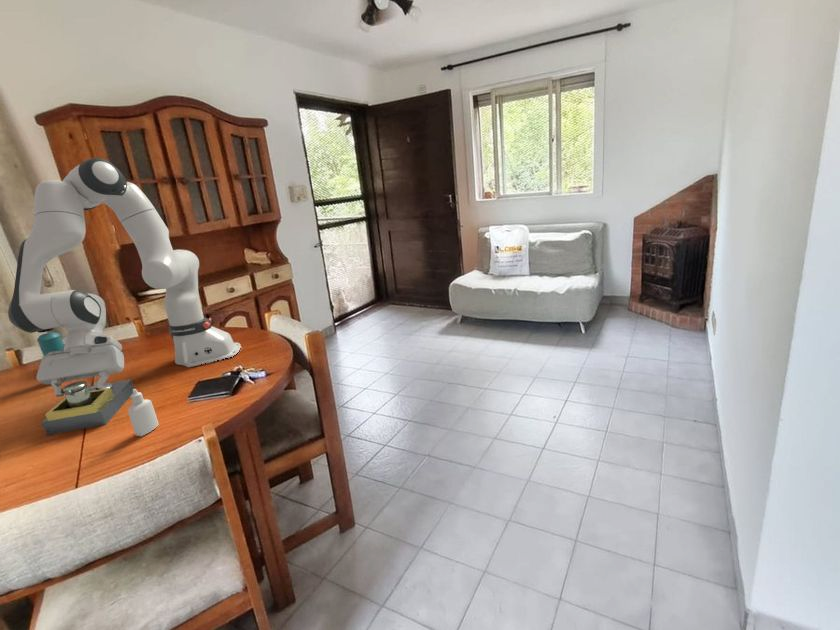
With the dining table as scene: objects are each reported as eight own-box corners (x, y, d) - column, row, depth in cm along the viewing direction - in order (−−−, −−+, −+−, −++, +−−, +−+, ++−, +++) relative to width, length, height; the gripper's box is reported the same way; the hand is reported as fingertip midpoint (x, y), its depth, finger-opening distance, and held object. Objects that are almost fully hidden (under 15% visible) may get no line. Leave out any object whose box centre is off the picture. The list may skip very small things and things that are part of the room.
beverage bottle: (63, 382, 144) (41, 327, 137) (47, 382, 145) (25, 328, 139) (81, 374, 150) (61, 321, 143) (66, 373, 151) (46, 321, 145)
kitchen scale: (84, 399, 130) (78, 381, 128) (134, 390, 133) (129, 373, 131) (46, 435, 112) (38, 415, 110) (105, 424, 114) (98, 405, 112)
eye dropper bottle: (133, 432, 109) (119, 391, 105) (157, 423, 113) (144, 382, 109) (138, 438, 106) (123, 396, 102) (162, 428, 110) (149, 387, 106)
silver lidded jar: (100, 407, 120) (89, 378, 117) (88, 420, 114) (76, 389, 111) (79, 411, 119) (68, 381, 116) (66, 424, 113) (54, 393, 110)
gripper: (35, 349, 116) (26, 396, 111) (117, 336, 121) (113, 381, 115) (50, 357, 122) (43, 403, 116) (128, 345, 126) (125, 388, 120)
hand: (78, 392), depth 115 cm, fingers open, 8 cm apart
